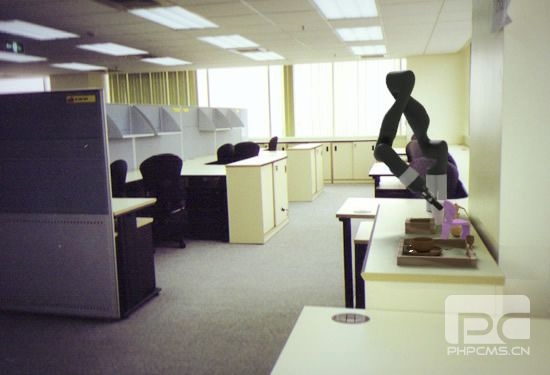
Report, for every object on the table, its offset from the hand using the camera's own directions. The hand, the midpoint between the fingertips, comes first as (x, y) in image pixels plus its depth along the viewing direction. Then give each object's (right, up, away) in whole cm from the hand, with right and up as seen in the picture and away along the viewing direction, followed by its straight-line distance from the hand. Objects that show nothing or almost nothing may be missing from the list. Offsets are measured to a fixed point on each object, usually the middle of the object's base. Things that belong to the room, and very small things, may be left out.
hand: (441, 207), depth 205 cm
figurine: (-1, -10, -18) cm, 21 cm away
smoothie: (-1, -7, +1) cm, 7 cm away
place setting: (-17, -14, -44) cm, 49 cm away
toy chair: (-5, -11, -28) cm, 30 cm away
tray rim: (-17, -13, -44) cm, 49 cm away
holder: (-11, -9, -8) cm, 16 cm away
